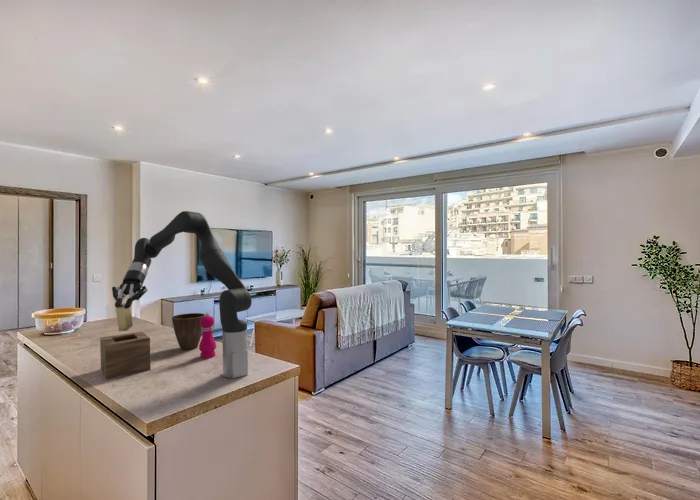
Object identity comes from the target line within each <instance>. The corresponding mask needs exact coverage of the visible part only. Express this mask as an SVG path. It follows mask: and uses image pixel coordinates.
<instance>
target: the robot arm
mask: <svg viewBox="0 0 700 500" xmlns="http://www.w3.org/2000/svg"><path fill="white" fill-rule="evenodd" d="M180 233H187V234H195V235H196V237H197V238H198V240H199V241H200V242H199V243H200V246H199V247H200V249H199V254H198V255H199V260H200V262H201V264H202V265H203V268H204V270H205V271H206V272H207V273H208V274H209V275H211V276H212V277H213V278H215V279H216V280H217V281H219V282H220V283H222V284H223V285H224V286H225V287H226V290H223V291H222V292H221V294H220V295H219V300H218V303H219V307H218V308H219V318H220V319H219V321H220V326H221V328H222V329H221V330H222V338H221V341H222V376H223V377H225V378H228V379H229V378H230V379H237V378H239V377H240V378H241V377H245V376H248V375H249V369H248V368H249V361H248V360H249V359H248V358H249V356H248V355H249V354H248V352H249V351H248V322H246V321H245V320H242V319H240V318H239V317H238V313H239V312H240V313H241V312H246V311H247V310H249V309H250V308H251V306H252V302H253V301H252V296H251V294H250V292H249V290H248V288H246V285H245V284H244V283H243V281H242V280H241V279H240V277H239V276H238V275H237V274H236V272H235V270H234V269H233V267H232V266H231V264H230V262H229V260H228V259H227V257H226V254H225V253H224V251H223V249H222V248H221V247H220V245H219V244H218V241H217V240H216V238H215V236H214V234H213V232H212V230H211V228H210V225H209V223H208V221H207V219H206V217H205V215H204V214H202V213H200V212H195V211H189V210H183V211H181V212H179V213H178V214H176V216H174V218H173V219H172V220H170V222H169V223H168V224H167V225H166V226H165V227H164V228H163V229H161V230H160V231H159V232H157V233H155V234H153V235H152V236H151V237H150V238H149V239H148V238H147V237H141V238H139V239H138V240H137V241H136V242H135V243H134V244H135V245H134V254H133V255H134V257H133V260H132V261H131V264H130V265H129V266H128V269H127V271H126V274H125V275H124V277H123V279H122V283H120V285H119V286H117V287H116V286H112V287H111V290H112V291H111V292H112V297H113V298H114V299H113V300H115V303H114V307H115V308H116V307H118V306H119V305H121V304H122V303H123V301H124V300H125V298H127V297H128V298H127V299H126V301H125V303H126V304H125V307H126V309H128V308H129V307H130V308H131V307H132V304H133V302H134V301H140V299H141V298H142V297H143V296H144V295H145V294H146V292H148V288H147V287H146V285H144V282H145V280H146V278H147V276H148V273H149V272H148V271H149V268H150V266H151V264H152V259H155V258H156V257H158V256H159V254H160V253H161V252H162V250H163V249H164V248H166V247H168V246H169V245H171V244H172V243H173V242H174V241H175V238H176V235H177V234H180Z"/></svg>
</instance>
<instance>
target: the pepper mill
mask: <svg viewBox="0 0 700 500" xmlns="http://www.w3.org/2000/svg"><path fill="white" fill-rule="evenodd" d="M204 314H205V316H204V317H203V318H202V319H201V321H200V324H201V326H202V335H201V339H200V341H199V344H198V350H199V351H200V354H199V355H200V358H201V359H211V358H215V356H216V351H215V350H216V348H217V344H216V340H215V339H214V335H213V330H214V326H213V325H214V324H215V319H214V317H213V316H211V315H210V313H209V312H206V313H204Z"/></svg>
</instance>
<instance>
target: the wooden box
mask: <svg viewBox="0 0 700 500" xmlns="http://www.w3.org/2000/svg"><path fill="white" fill-rule="evenodd" d="M99 340H100V344H99V345H100V346H99V348H100V350H99V351H100V371H101V370H102V371H101V372H103V373H102V375H103V377H104V379H105V380H110V379H113V378H119V377H123V376H129V375H134V374H137V373H142V372H143V373H144V372H147V371H150V370H152V369H151V337H150V336H148V335H147V334H146V333H144V332H143V331H136V332H131V333H130V332H129V333H122V334H115V335H110V336H104V337H100V339H99Z"/></svg>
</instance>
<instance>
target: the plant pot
mask: <svg viewBox="0 0 700 500" xmlns="http://www.w3.org/2000/svg"><path fill="white" fill-rule="evenodd" d="M205 314H206V313H201V312H200V313H199V312H198V313H197V312H195V313H193V312H192V313H191V312H190V313H181V314H177V315H173V316H172V317H171V321H172V326H173V330H174V335H175V338H176V341H177V343H178V346H179V348H180V350H182V351H191V350H194V349H197V348H198V347H199V345H200V342H201V339H202V335H203V331H202V326H201V324H200V321H201V319H202V318H203V317H204V316H205Z"/></svg>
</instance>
